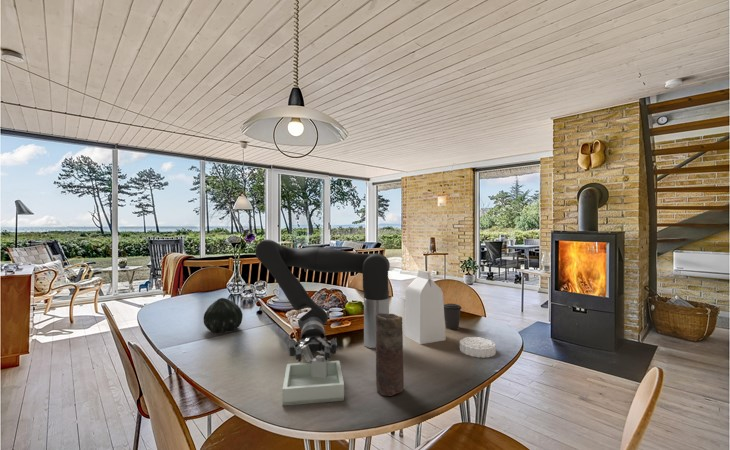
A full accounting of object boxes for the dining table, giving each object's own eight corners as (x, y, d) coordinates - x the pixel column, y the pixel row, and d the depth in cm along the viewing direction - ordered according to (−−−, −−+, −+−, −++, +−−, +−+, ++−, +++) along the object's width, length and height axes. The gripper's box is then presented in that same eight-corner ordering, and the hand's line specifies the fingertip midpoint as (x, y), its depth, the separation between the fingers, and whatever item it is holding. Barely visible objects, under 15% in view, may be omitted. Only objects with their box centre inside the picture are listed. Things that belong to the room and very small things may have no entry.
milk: (403, 334, 134) (403, 270, 134) (427, 331, 138) (427, 268, 138) (419, 344, 123) (419, 273, 123) (445, 340, 127) (445, 272, 127)
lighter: (327, 375, 90) (328, 345, 90) (326, 378, 88) (326, 348, 88) (303, 372, 91) (303, 343, 91) (300, 375, 89) (301, 346, 89)
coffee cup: (464, 330, 139) (464, 306, 139) (444, 330, 139) (444, 306, 139) (458, 324, 147) (458, 302, 147) (440, 324, 147) (440, 302, 147)
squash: (234, 310, 151) (214, 289, 143) (254, 316, 142) (234, 294, 134) (211, 337, 143) (188, 316, 134) (231, 345, 134) (208, 324, 126)
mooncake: (466, 343, 124) (466, 333, 124) (500, 350, 117) (500, 339, 117) (454, 353, 115) (454, 342, 115) (490, 361, 108) (490, 350, 108)
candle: (374, 383, 92) (374, 311, 92) (400, 382, 92) (400, 310, 93) (377, 397, 84) (377, 318, 84) (406, 396, 85) (406, 318, 85)
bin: (339, 374, 98) (339, 360, 98) (344, 400, 83) (344, 384, 83) (287, 377, 95) (287, 363, 95) (282, 405, 81) (282, 389, 81)
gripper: (289, 324, 102) (285, 344, 86) (336, 322, 104) (340, 341, 88) (289, 349, 102) (284, 373, 86) (336, 346, 105) (340, 369, 88)
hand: (313, 357), depth 87 cm, fingers closed on lighter, 6 cm apart
